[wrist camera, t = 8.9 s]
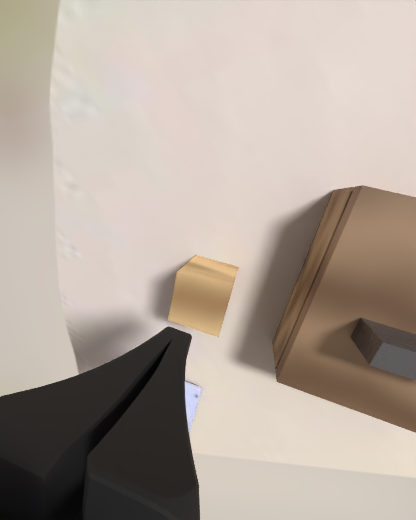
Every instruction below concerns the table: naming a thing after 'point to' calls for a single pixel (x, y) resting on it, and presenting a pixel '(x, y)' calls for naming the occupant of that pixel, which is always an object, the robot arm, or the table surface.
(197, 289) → the wooden block
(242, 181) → the table surface
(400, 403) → the lid
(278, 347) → the brown shallow open box
